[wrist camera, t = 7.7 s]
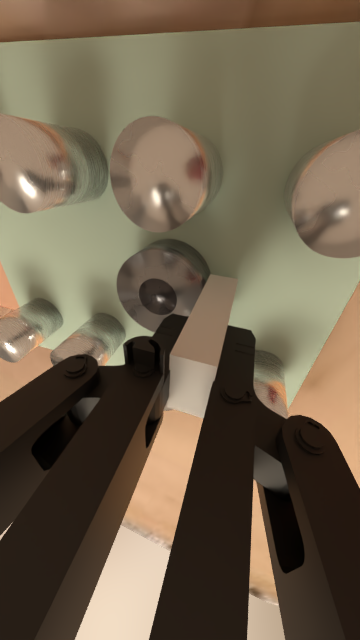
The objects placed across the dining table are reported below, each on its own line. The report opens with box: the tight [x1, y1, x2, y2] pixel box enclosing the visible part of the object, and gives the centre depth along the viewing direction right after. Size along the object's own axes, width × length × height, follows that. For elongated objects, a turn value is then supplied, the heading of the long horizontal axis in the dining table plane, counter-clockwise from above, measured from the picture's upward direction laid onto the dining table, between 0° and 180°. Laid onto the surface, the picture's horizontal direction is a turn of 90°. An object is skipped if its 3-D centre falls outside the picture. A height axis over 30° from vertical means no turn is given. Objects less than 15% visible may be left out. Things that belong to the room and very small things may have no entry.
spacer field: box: [0, 22, 360, 408], centre depth 15 cm, size 24×20×1 cm
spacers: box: [0, 113, 360, 419], centre depth 13 cm, size 21×14×4 cm
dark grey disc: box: [116, 239, 211, 332], centre depth 13 cm, size 5×5×2 cm
